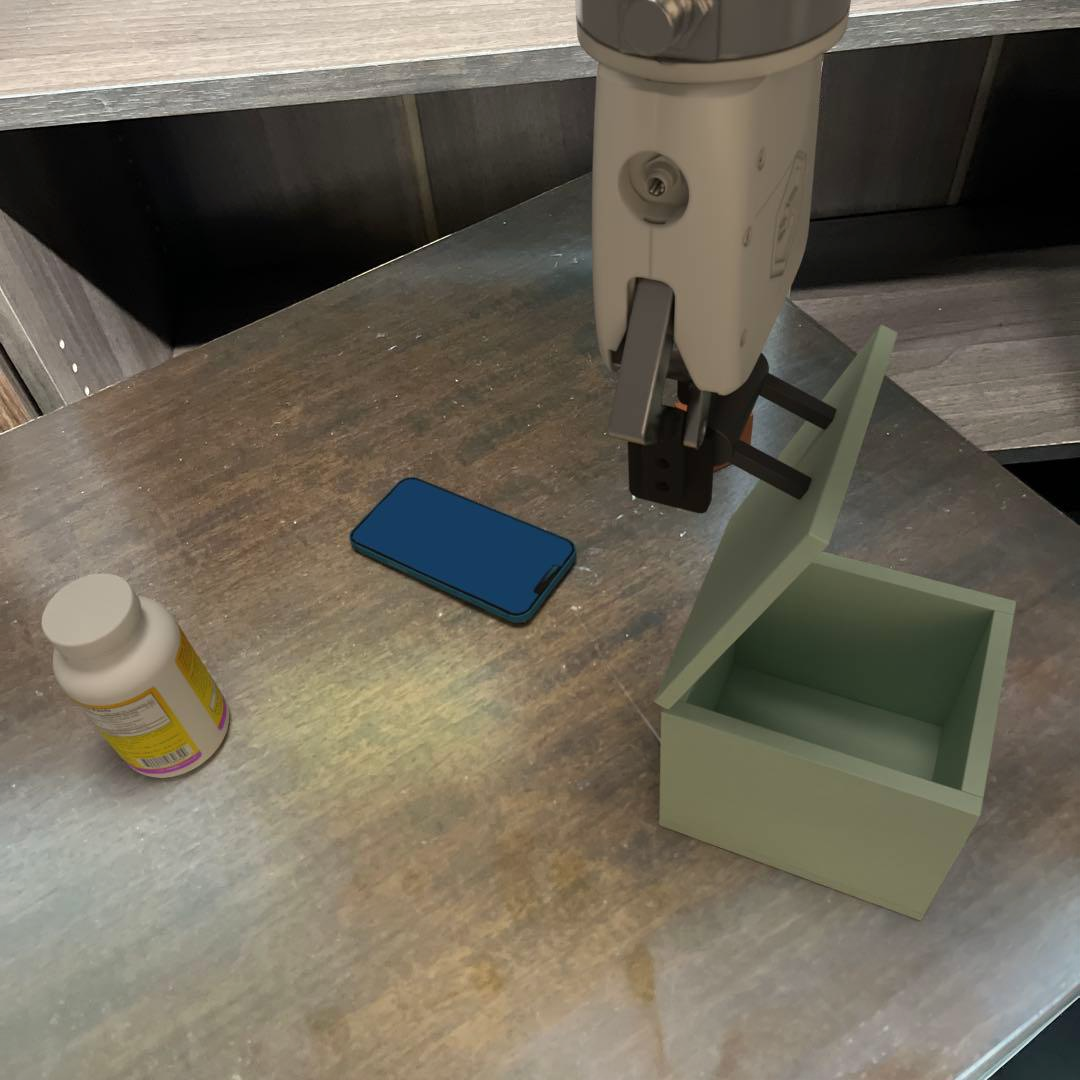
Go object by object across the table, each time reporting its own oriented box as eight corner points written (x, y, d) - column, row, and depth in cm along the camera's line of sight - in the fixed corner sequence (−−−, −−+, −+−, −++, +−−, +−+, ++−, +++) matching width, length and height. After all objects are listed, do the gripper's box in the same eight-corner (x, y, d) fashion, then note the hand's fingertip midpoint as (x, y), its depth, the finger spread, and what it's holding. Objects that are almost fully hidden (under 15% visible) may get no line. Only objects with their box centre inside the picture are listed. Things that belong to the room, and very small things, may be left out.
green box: (958, 727, 56) (1016, 600, 47) (920, 921, 49) (980, 816, 41) (722, 656, 61) (735, 528, 52) (658, 825, 54) (660, 711, 45)
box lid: (899, 332, 39) (770, 263, 39) (829, 544, 33) (674, 461, 33) (742, 526, 51) (644, 473, 52) (668, 710, 45) (555, 649, 45)
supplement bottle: (179, 670, 63) (94, 540, 54) (254, 714, 61) (179, 585, 51) (100, 752, 60) (-6, 628, 50) (176, 802, 57) (80, 681, 48)
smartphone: (406, 472, 72) (582, 543, 66) (409, 481, 73) (583, 553, 67) (342, 539, 69) (522, 622, 62) (345, 548, 69) (523, 631, 63)
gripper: (762, 135, 21) (720, 638, 34) (913, -130, 30) (833, 343, 44) (446, 97, 23) (524, 580, 37) (680, -137, 33) (673, 314, 47)
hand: (693, 448), depth 40 cm, fingers closed on box lid, 5 cm apart
